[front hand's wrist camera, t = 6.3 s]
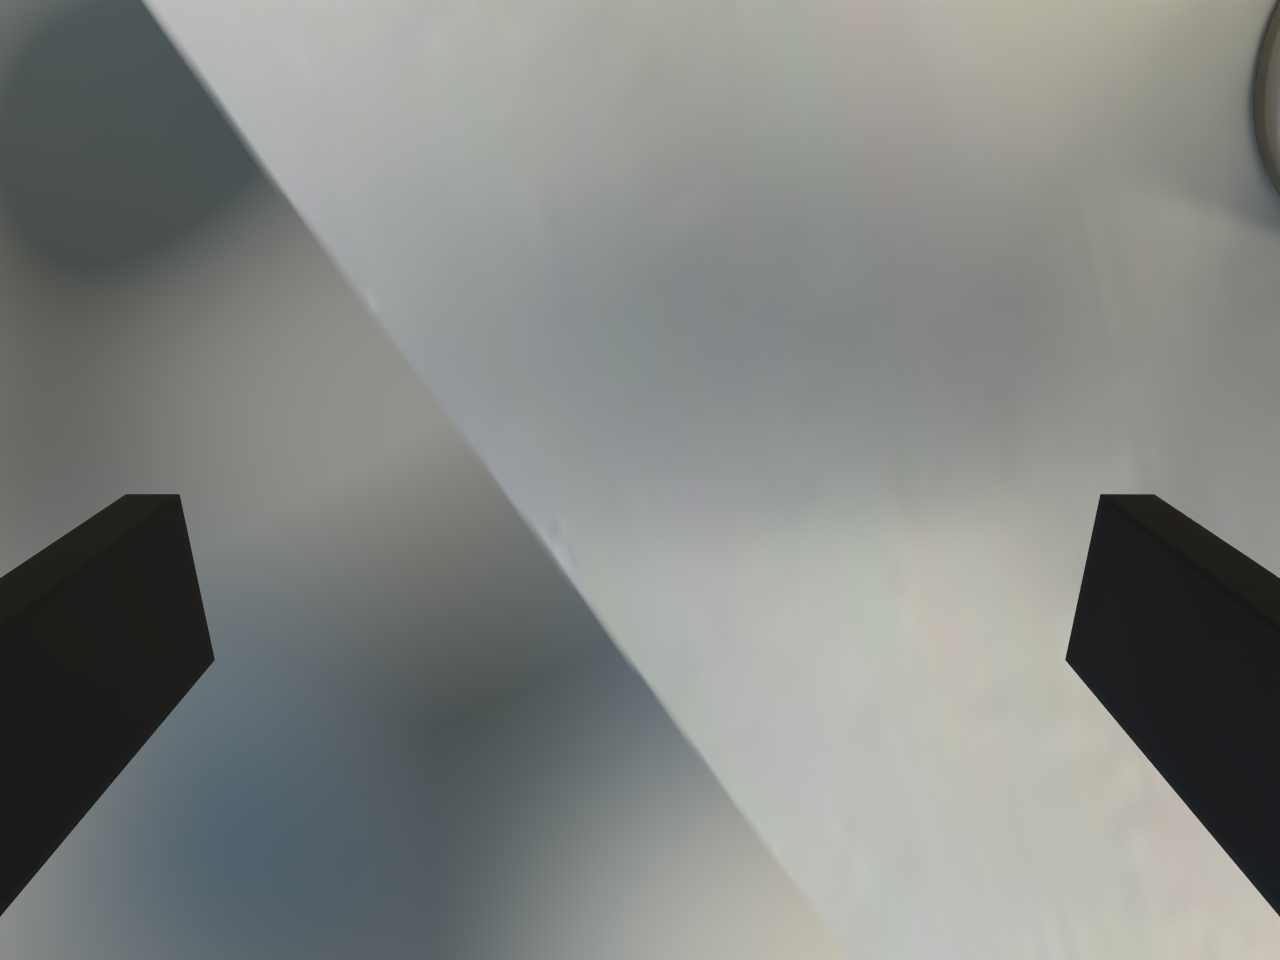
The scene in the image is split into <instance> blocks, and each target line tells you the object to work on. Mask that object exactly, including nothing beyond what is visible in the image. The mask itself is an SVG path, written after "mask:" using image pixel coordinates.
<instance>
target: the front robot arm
mask: <svg viewBox="0 0 1280 960" xmlns="http://www.w3.org/2000/svg"><path fill="white" fill-rule="evenodd" d="M1254 121H1255V131H1256V137H1257V142H1258V147H1259V151H1260V154H1261V157H1262V160H1263V164H1264V167H1265V169H1266V171H1267V173H1268V175H1269V177H1270V180H1271V182H1272V183H1273V185H1274V186H1275V188H1276V190H1277V191H1278V193H1279V194H1280V2H1279V4H1278V7H1277V9H1276V11H1275V13H1274V16H1273V18H1272V20H1271V23H1270V26H1269V29H1268V31H1267V34H1266V37H1265V40H1264V44H1263V48H1262V51H1261V55H1260V59H1259V64H1258V69H1257V75H1256V82H1255V93H1254ZM214 660H215V659H214V655H213V650H212V645H211V640H210V636H209V631H208V626H207V622H206V617H205V612H204V608H203V603H202V598H201V593H200V589H199V584H198V579H197V575H196V570H195V565H194V560H193V556H192V551H191V546H190V542H189V537H188V532H187V527H186V523H185V518H184V513H183V509H182V504H181V499H180V495H179V494H126V495H124V496H123V497H121V498H120V499H118V500H117V501H115V502H114V503H112V504H111V505H109V506H108V507H106V508H105V509H103V510H102V511H100V512H99V513H97V514H96V515H94V516H93V517H91V518H90V519H88V520H87V521H85V522H84V523H82V524H81V525H79V526H78V527H76V528H75V529H73V530H72V531H70V532H69V533H67V534H66V535H64V536H63V537H61V538H60V539H58V540H57V541H55V542H54V543H52V544H51V545H49V546H48V547H46V548H45V549H43V550H42V551H40V552H39V553H37V554H36V555H34V556H33V557H31V558H30V559H28V560H27V561H25V562H24V563H22V564H21V565H19V566H18V567H16V568H15V569H13V570H12V571H10V572H9V573H7V574H6V575H5V576H3V577H1V578H0V916H1V915H2V914H3V913H4V911H5V910H6V909H7V908H8V907H9V905H10V904H11V903H12V902H13V901H14V899H15V898H16V897H17V896H18V895H19V893H20V892H21V891H22V890H23V889H24V887H25V886H26V885H27V884H28V883H29V881H30V880H31V879H32V878H33V877H34V875H35V874H36V873H37V872H38V871H39V870H40V868H41V867H42V866H43V865H44V863H45V862H46V861H47V860H48V859H49V857H50V856H51V855H52V854H53V853H54V852H55V850H56V849H57V848H58V847H59V846H60V844H61V843H62V842H63V841H64V840H65V838H66V837H67V836H68V835H69V834H70V832H71V831H72V830H73V829H74V828H75V826H76V825H77V824H78V823H79V822H80V820H81V819H82V818H83V817H84V816H85V814H86V813H87V812H88V811H89V810H90V808H91V807H92V806H93V805H94V804H95V802H96V801H97V800H98V799H99V798H100V797H101V795H102V794H103V793H104V792H105V791H106V789H107V788H108V787H109V786H110V785H111V783H112V782H113V781H114V780H115V779H116V777H117V776H118V775H119V774H120V773H121V771H122V770H123V769H124V768H125V767H126V765H127V764H128V763H129V762H130V761H131V759H132V758H133V757H134V756H135V755H136V753H137V752H138V751H139V750H140V749H141V747H142V746H143V745H144V744H145V743H146V741H147V740H148V739H149V738H150V737H151V735H152V734H153V733H154V732H155V731H156V729H157V728H158V727H159V726H160V725H161V723H162V722H163V721H164V720H165V719H166V718H167V716H168V715H169V714H170V713H171V712H172V710H173V709H174V708H175V707H176V706H177V704H178V703H179V702H180V701H181V700H182V698H183V697H184V696H185V695H186V694H187V692H188V691H189V690H190V689H191V688H192V686H193V685H194V684H195V683H196V682H197V680H198V679H199V678H200V677H201V676H202V674H203V673H204V672H205V671H206V670H207V668H208V667H209V666H210V665H211V664H212V662H213V661H214ZM1065 660H1066V661H1067V662H1068V664H1069V665H1070V666H1071V667H1072V668H1073V670H1074V671H1075V672H1076V673H1077V674H1078V676H1079V677H1080V678H1081V679H1082V680H1083V682H1084V683H1085V684H1086V685H1087V686H1088V688H1089V689H1090V690H1091V691H1092V692H1093V694H1094V695H1095V696H1096V697H1097V698H1098V700H1099V701H1100V702H1101V703H1102V704H1103V706H1104V707H1105V708H1106V709H1107V710H1108V712H1109V713H1110V714H1111V715H1112V716H1113V718H1114V719H1115V720H1116V721H1117V722H1118V724H1119V725H1120V726H1121V727H1122V728H1123V729H1124V731H1125V732H1126V733H1127V734H1128V735H1129V737H1130V738H1131V739H1132V740H1133V741H1134V743H1135V744H1136V745H1137V746H1138V747H1139V749H1140V750H1141V751H1142V752H1143V753H1144V755H1145V756H1146V757H1147V758H1148V759H1149V761H1150V762H1151V763H1152V764H1153V765H1154V767H1155V768H1156V769H1157V770H1158V771H1159V773H1160V774H1161V775H1162V776H1163V777H1164V779H1165V780H1166V781H1167V782H1168V783H1169V785H1170V786H1171V787H1172V788H1173V789H1174V791H1175V792H1176V793H1177V794H1178V795H1179V797H1180V798H1181V799H1182V800H1183V801H1184V803H1185V804H1186V805H1187V806H1188V807H1189V808H1190V810H1191V811H1192V812H1193V813H1194V814H1195V816H1196V817H1197V818H1198V819H1199V820H1200V822H1201V823H1202V824H1203V825H1204V826H1205V828H1206V829H1207V830H1208V831H1209V832H1210V834H1211V835H1212V836H1213V837H1214V838H1215V840H1216V841H1217V842H1218V843H1219V844H1220V846H1221V847H1222V848H1223V849H1224V850H1225V852H1226V853H1227V854H1228V855H1229V856H1230V858H1231V859H1232V860H1233V861H1234V862H1235V864H1236V865H1237V866H1238V867H1239V868H1240V870H1241V871H1242V872H1243V873H1244V874H1245V876H1246V877H1247V878H1248V879H1249V880H1250V881H1251V883H1252V884H1253V885H1254V886H1255V887H1256V889H1257V890H1258V891H1259V892H1260V893H1261V895H1262V896H1263V897H1264V898H1265V899H1266V901H1267V902H1268V903H1269V904H1270V905H1271V907H1272V908H1273V909H1274V910H1275V911H1276V913H1277V914H1278V915H1279V916H1280V578H1279V577H1277V576H1276V575H1274V574H1273V573H1271V572H1270V571H1268V570H1267V569H1265V568H1264V567H1262V566H1261V565H1259V564H1258V563H1256V562H1255V561H1253V560H1252V559H1250V558H1249V557H1247V556H1246V555H1244V554H1243V553H1241V552H1240V551H1238V550H1237V549H1235V548H1234V547H1232V546H1231V545H1229V544H1228V543H1226V542H1225V541H1223V540H1222V539H1220V538H1219V537H1217V536H1216V535H1214V534H1213V533H1211V532H1210V531H1208V530H1207V529H1205V528H1204V527H1202V526H1201V525H1199V524H1198V523H1196V522H1195V521H1193V520H1192V519H1190V518H1189V517H1187V516H1186V515H1184V514H1183V513H1181V512H1180V511H1178V510H1177V509H1175V508H1174V507H1172V506H1171V505H1169V504H1168V503H1166V502H1165V501H1163V500H1162V499H1160V498H1159V497H1157V496H1156V495H1154V494H1100V499H1099V504H1098V509H1097V513H1096V518H1095V523H1094V527H1093V532H1092V537H1091V542H1090V546H1089V551H1088V556H1087V560H1086V565H1085V570H1084V575H1083V579H1082V584H1081V589H1080V593H1079V598H1078V603H1077V607H1076V612H1075V617H1074V622H1073V626H1072V631H1071V636H1070V640H1069V645H1068V650H1067V655H1066V659H1065Z"/></svg>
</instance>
